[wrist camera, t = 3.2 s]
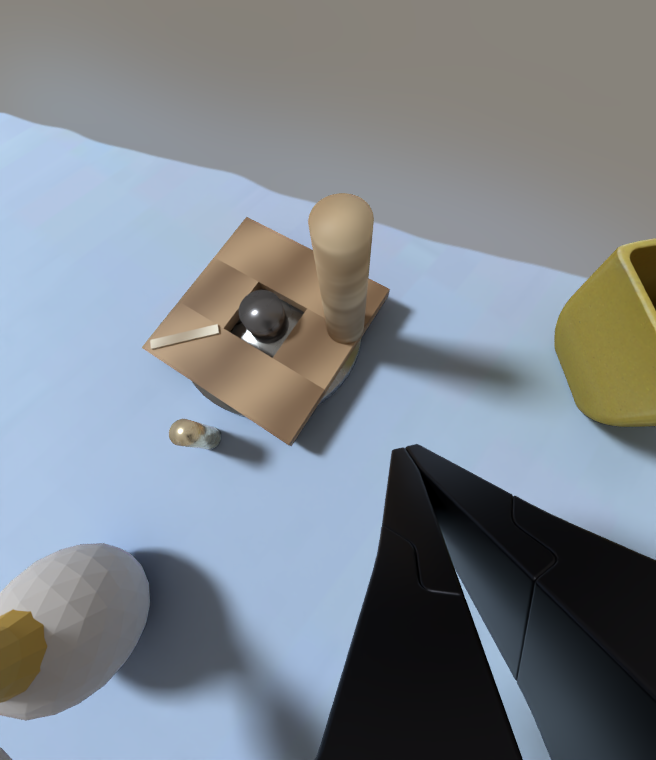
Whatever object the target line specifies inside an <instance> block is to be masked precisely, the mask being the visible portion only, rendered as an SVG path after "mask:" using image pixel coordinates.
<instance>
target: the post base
mask: <svg viewBox="0 0 656 760" xmlns="http://www.w3.org/2000/svg"><path fill="white" fill-rule="evenodd" d="M238 312H239V318H240V319H239V321H238V322H237V323H236V325H235V326H234V327H233V329H232V330H231V331H230V333H232V334H234V335H235V336H237V337H239V338H240V339H242V340H244V341H245V342H247V343H249V344H250V345H252V346H253V347H255V348H257V349H258V350H260V351H262V352H263V353H265V354H267V355H268V356H270V357H272V358H273V357H274V355H275V354H276V352H277V351H278V350H279V348H280V347H281V345H282V344H283V342H284V341H285V340H286V338H287V337H288V335H289V334H290V332H291V331H292V330H293V328H294V327H295V325H296V324H297V323H298V321H299V320H300V318H301V317H302V315H303V314H304V313H305V312H303V311H301V310H299V309H297V308H296V307H294V306H292V305H290V304H288V303H287V302H285V301H283V300H281V299H279V297H278V296H277V295H276V294H274V293H273V292H271V291H268V290H263V289H262V290H257V291H254V292H251V293H249V294H248V295H247V296H246V297H244V299H243V300H242V301H241V303H240V306H239V311H238ZM360 345H361V339H360V341H359V342H358V344H357V345H356V347H355V348H354V350H353V352H352V353H351V355H350V356H349V358H348V359H347V361H346V362H345V364H344V365H343V367H342V369H341V370H340V372H339V373H338V375H337V376H336V378H335V379H334V381H333V382H332V384H331V386H330V387H329V389H328V390H327V392H326V393H325V395H324V396H323V398H322V400H321V401H320V403H322V402H323V401H325V400H326V399H327V398H328V397H330V396H331V395H332V394H333V393H334V392H335V391H336V390H337V389H338V388H339V387H340V386H341V385H342V383H343V382H344V381H345V379H346V378H347V377H348V375H349V373H350V372H351V370H352V368H353V366H354V364H355V362H356V359H357V356H358V354H359V349H360ZM192 382H193V381H192ZM193 383H194V382H193ZM194 385H195V386H196V388H197V389H198V390H199V391H200V392H201V393H202V394H203V395H204V396H205V397H206V398H208V399H209V400H210V401H212V402H213V403H214V404H216V405H218V406H220V407H221V408H223V409H225V410H227V411H230V412H232V413H235V414H237V415H240V416H244V415H242V414H241V413H239V412H238V411H236V410H235V409H233V408H232V407H230V406H229V405H227V404H226V403H224V402H223V401H221V400H220V399H218V398H217V397H215V396H214V395H212V394H211V393H209V392H208V391H206V390H205V389H203V388H202V387H200V386H199V385H197V384H196V383H194ZM320 403H319V404H320ZM319 404H318V405H319ZM244 417H245V416H244ZM169 438H170V440H171V442H172V443H173V444H175V445H179V446H186V447H194V448H202V449H213V448H215V447H216V446H217V445H218V444H219V443H220V440H221V434H220V432H219V430H218V429H216V428H214V427H211V426H208V425H204V424H201V423H197V422H194V421H191V420H187V419H180V420H177V421H176V422H174V423H173V424H172V426H171V428H170V430H169Z"/></svg>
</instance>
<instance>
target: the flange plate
mask: <svg viewBox="0 0 656 760" xmlns="http://www.w3.org/2000/svg"><path fill="white" fill-rule="evenodd" d="M373 221H374V218H373V212H372V210H371V208H370V206H369V205H368V203H367V202H365V201H364V200H363V199H362V198H360V197H358V196H355V195H352V194H345V193H339V194H333V195H330V196H327V197H325V198H323V199H322V200H320V201H319V202H318V203H317V204H316V205H315V206H314V207H313V209H312V210H311V212H310V215H309V220H308V224H309V230H310V236H311V241H312V247H313V250H311V249H309V248H307V247H305V246H303V245H301V244H299V243H297V242H295V241H293V240H291V239H289V238H287V237H285V236H283V235H281V234H279V233H278V232H276V231H274V230H272V229H270V228H268V227H266V226H264V225H262V224H260V223H258V222H256V221H254V220H252V219H250V218H248V217H246V218H245V220H244V221H243V222H242V223H241V225H240V226H239V227H238V228H237V230H236V231H235V232H234V233H233V235H232V236H231V237H230V238H229V240H228V241H227V242H226V243H225V244H224V246H223V247H222V248H221V249H220V251H219V252H218V253H217V254H216V256H215V257H214V258H213V259H212V261H211V262H210V263H209V264H208V266H207V267H206V268H205V269H204V271H203V272H202V273H201V274H200V276H199V277H198V278H197V279H196V281H195V282H194V283H193V284H192V286H191V287H190V288H189V289H188V291H187V292H186V293H185V294H184V296H183V297H182V298H181V299H180V300H179V302H178V303H177V304H176V305H175V307H174V308H173V309H172V310H171V312H170V313H169V314H168V315H167V317H166V318H165V319H164V320H163V322H162V323H161V324H160V325H159V327H158V328H157V329H156V330H155V332H154V333H153V334H152V335H151V337H150V338H149V339H148V340H147V342H146V343H145V344H144V345H143V347H142V348H143V349H145V350H146V351H148V352H149V353H151V354H152V355H154V356H155V357H157V358H158V359H160V360H161V361H163V362H164V363H166V364H167V365H169V366H170V367H172V368H173V369H175V370H176V371H178V372H179V373H181V374H182V375H184V376H185V377H187V378H188V379H190V380H191V381H193V382H194V383H196V384H197V385H199V386H200V387H202V388H203V389H205V390H206V391H208V392H209V393H211V394H212V395H214V396H215V397H217V398H218V399H220V400H221V401H223V402H224V403H226V404H227V405H229V406H230V407H232V408H233V409H235V410H236V411H238V412H239V413H241V414H242V415H244V416H245V417H247V418H249V419H250V420H252V421H253V422H255V423H256V424H258V425H259V426H261V427H262V428H264V429H265V430H267V431H268V432H270V433H271V434H273V435H274V436H276V437H277V438H279V439H280V440H282V441H283V442H285V443H286V444H288V445H290V446H292V444H293V443H294V441H295V440H296V438H297V437H298V435H299V434H300V432H301V430H302V429H303V427H304V426H305V424H306V423H307V421H308V420H309V418H310V417H311V415H312V413H313V412H314V410H315V409H316V407H317V406H318V404H319V403H320V401H321V400H322V398H323V396H324V395H325V393H326V392H327V390H328V389H329V387H330V386H331V384H332V382H333V381H334V379H335V378H336V376H337V375H338V373H339V372H340V370H341V369H342V367H343V365H344V364H345V362H346V361H347V359H348V358H349V356H350V355H351V353H352V352H353V350H354V348H355V347H356V345H357V344H358V342H359V341H360V339H361V338H362V336H363V334H364V333H365V331H366V330H367V328H368V327H369V325H370V324H371V322H372V321H373V319H374V317H375V316H376V314H377V313H378V311H379V310H380V308H381V307H382V305H383V304H384V302H385V300H386V299H387V297H388V295H389V290H390V289H388V288H387V287H385V286H383V285H381V284H379V283H377V282H375V281H373V280H371V279H369V278H368V276H369V265H370V254H371V243H372V232H373ZM262 289H263V290H268V291H271V292H273V293H274V294H276V295H277V296H278V297H279V299H281V300H283V301H285V302H287V303H288V304H290V305H292V306H294V307H296V308H297V309H299V310H301V311H303V312H305V313H304V314H303V315H302V317H301V318H300V320H299V321H298V323H297V324H296V325H295V327H294V328H293V330H292V331H291V332H290V334H289V335H288V337H287V338H286V340H285V341H284V342H283V344H282V345H281V347H280V348H279V350H278V351H277V352H276V354H275V355H274V357H273V358H272V357H270V356H268V355H267V354H265V353H263V352H262V351H260V350H258V349H257V348H255V347H253V346H252V345H250V344H249V343H247V342H245V341H244V340H242V339H240V338H239V337H237V336H235V335H234V334H232V333H230V331H231V330H232V329H233V327H234V326H235V325H236V323H237V322H238V321H239V319H240V318H239V312H238V311H239V306H240V303H241V301H242V300H243V299H244V297H246V296H247V295H248V294H249V293H251V292H254V291H257V290H262Z"/></svg>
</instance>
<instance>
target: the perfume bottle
mask: <svg viewBox="0 0 656 760" xmlns="http://www.w3.org/2000/svg"><path fill="white" fill-rule="evenodd" d="M149 607H150V594H149V582H148V580H147V577H146V575H145V572H144V570H143V568H142V565H141V564H140V563H139V562H138V561H137V560H136V559H135V558H134V557H133V556H132V554H130V553H128V552H126V551H124V550H123V549H121V548H117V547H114V546H111V545H108V544H104V543H100V544H80V545H77V546H73V547H69V548H65V549H61V550H59V551H57V552H55V553H52V554H50V555H48V556H46V557H44V558H42V559H40V560H38V561H36V562H34V563H33V564H32V565H31V566H29V567H28V568H27V569H26V570H24V571H23V572H22V573H21V574H19V575H18V576H17V577H16V578H14V579H13V580H12V581H11V582H10V583H9V584H8V585H7V586H6V587H5V588H4V589H3V590H2V591H1V593H0V715H2V716H6V717H11V718H16V719H21V720H31V719H35V718H40V717H45V716H50V715H55V714H58V713H60V712H62V711H64V710H66V709H68V708H71V707H73V706H75V705H77V704H79V703H80V702H82V701H83V700H85V699H86V698H88V697H89V696H90V695H92V694H93V693H95V692H96V691H97V690H99V689H100V688H102V687H103V686H104V685H105V684H106V683H107V682H108V681H109V680H110V679H111V678H112V676H113V675H114V674H115V673H116V672H117V671H118V670H119V669H120V668H121V666H122V665H123V664H124V663H125V662H126V661H127V659H128V657H129V656H130V654H131V653H132V651H133V649H134V648H135V646H136V645H137V643H138V641H139V639H140V636H141V634H142V632H143V629H144V627H145V625H146V621H147V616H148V611H149ZM0 760H12V759H11V758H10V757H9V756H8V754H7V753H6V752H5V751H4V750H3V749H2V748H0Z"/></svg>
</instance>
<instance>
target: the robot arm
mask: <svg viewBox="0 0 656 760" xmlns="http://www.w3.org/2000/svg"><path fill="white" fill-rule="evenodd" d="M455 570H456V571H455ZM456 572H457V573H458V575H459V577H460V579H461V581H462V583H463V584H464V586H465V588H466V590H467V592H468V594H469V595H470V597H471V599H472V601H473V603H474V605H475V607H476V608H477V610H478V612H479V614H480V616H481V618H482V619H483V621H484V623H485V625H486V627H487V629H488V630H489V632H490V634H491V636H492V638H493V640H494V642H495V643H496V645H497V647H498V649H499V651H500V653H501V654H502V656H503V658H504V660H505V662H506V664H507V666H508V667H509V669H510V671H511V673H512V675H513V677H514V678H515V680H516V681H517V684H518V686H519V688H520V690H521V691H522V693H523V695H524V697H525V699H526V701H527V704H528V706H529V708H530V710H531V712H532V714H533V717H534V719H535V721H536V724H537V726H538V729H539V731H540V733H541V736H542V738H543V741H544V743H545V746H546V748H547V750H548V753H549V755H550V758H551V760H656V560H654V559H651V558H649V557H647V556H644V555H642V554H640V553H638V552H635V551H633V550H631V549H628V548H626V547H624V546H622V545H619V544H617V543H615V542H612V541H610V540H608V539H606V538H603V537H601V536H599V535H596V534H594V533H592V532H590V531H587V530H585V529H583V528H580V527H578V526H576V525H574V524H572V523H569V522H567V521H565V520H563V519H561V518H558V517H556V516H554V515H552V514H550V513H548V512H546V511H544V510H542V509H540V508H538V507H536V506H534V505H532V504H530V503H528V502H526V501H524V500H522V499H520V498H519V497H517V496H513V495H512V494H510V493H508V492H506V491H505V490H503V489H501V488H499V487H497V486H495V485H493V484H492V483H490V482H488V481H486V480H484V479H482V478H480V477H478V476H477V475H475V474H473V473H471V472H469V471H467V470H465V469H463V468H462V467H460V466H458V465H456V464H454V463H452V462H450V461H449V460H447V459H445V458H443V457H441V456H439V455H437V454H435V453H434V452H432V451H430V450H428V449H426V448H424V447H422V446H420V445H418V444H415V445H411V446H407V447H406V448H398V449H394V450H392V454H391V462H390V469H389V477H388V484H387V491H386V499H385V506H384V514H383V521H382V527H381V534H380V540H379V546H378V552H377V556H376V560H375V564H374V568H373V572H372V575H371V579H370V582H369V585H368V589H367V592H366V595H365V599H364V602H363V605H362V609H361V612H360V615H359V619H358V622H357V625H356V629H355V632H354V635H353V639H352V642H351V645H350V648H349V652H348V655H347V658H346V662H345V665H344V668H343V672H342V675H341V678H340V682H339V685H338V688H337V692H336V695H335V698H334V702H333V705H332V708H331V712H330V715H329V718H328V722H327V725H326V728H325V732H324V735H323V738H322V742H321V745H320V748H319V752H318V754H317V757H316V759H315V760H523V759H522V756H521V753H520V750H519V748H518V745H517V742H516V739H515V736H514V733H513V731H512V728H511V725H510V722H509V719H508V717H507V714H506V711H505V708H504V705H503V703H502V700H501V697H500V694H499V691H498V689H497V686H496V683H495V680H494V677H493V675H492V672H491V669H490V666H489V663H488V661H487V658H486V655H485V652H484V649H483V647H482V644H481V641H480V638H479V635H478V632H477V630H476V627H475V624H474V621H473V618H472V616H471V613H470V610H469V607H468V604H467V602H466V599H465V597H464V594H463V591H462V588H461V585H460V582H459V580H458V577H457V574H456Z"/></svg>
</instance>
